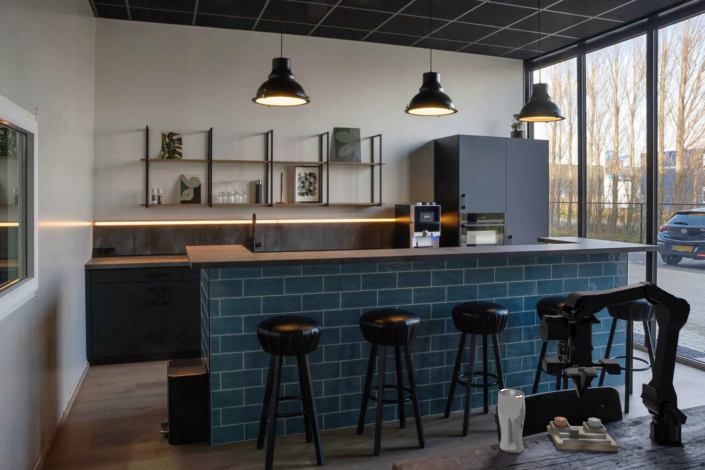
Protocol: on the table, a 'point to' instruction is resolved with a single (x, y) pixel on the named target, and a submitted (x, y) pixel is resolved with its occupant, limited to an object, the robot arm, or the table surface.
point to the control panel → (582, 438)
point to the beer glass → (511, 419)
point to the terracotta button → (560, 422)
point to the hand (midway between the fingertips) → (580, 397)
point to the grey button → (594, 422)
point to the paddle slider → (573, 433)
